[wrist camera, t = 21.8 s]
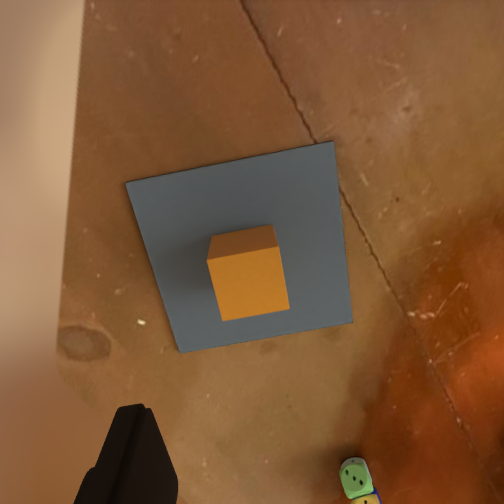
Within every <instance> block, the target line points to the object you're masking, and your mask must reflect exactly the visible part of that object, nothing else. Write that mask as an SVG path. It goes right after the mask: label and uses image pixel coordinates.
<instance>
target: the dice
mask: <svg viewBox="0 0 504 504" xmlns="http://www.w3.org/2000/svg"><path fill="white" fill-rule="evenodd" d="M340 468H341V469H340V471H339V475H340V479H341V482H342V485H343V488H344V491H345V493H346V495H347V497H348V498H350V499H353V500H352V501H351V504H382V503H381V500H380V497H379V495H378V492H377V490H376V488H375V487H373V485H372V479H371V476H370V473H369V470H368V468H367V465H366V463H365V461H364V459H362V458H358V457H353V458H349V459H347V460H346V461H344V462H343V464H342V465H341V467H340Z"/></svg>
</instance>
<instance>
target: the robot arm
mask: <svg viewBox="0 0 504 504" xmlns="http://www.w3.org/2000/svg"><path fill="white" fill-rule="evenodd" d="M177 495H178V479H177V475H176V473H175V470H174V467H173V465H172V462H171V459H170V457H169V454H168V451H167V449H166V446H165V444H164V441H163V438H162V436H161V433H160V430H159V428H158V425H157V423H156V420H155V417H154V415H153V412H152V410H151V409H150V408H146V409H145V407H144V405H143V404H134V405H128V406H122V407H119V408H118V410H117V411H116V414H115V416H114V419H113V421H112V424H111V427H110V429H109V432H108V434H107V437H106V439H105V442H104V445H103V447H102V450H101V453H100V455H99V458H98V460H97V463H96V465H95V467H93V468H91V469H90V470H89V471H88V472H87V473H86V475H85V477H84V479H83V481H82V484H81V486H80V489H79V491H78V494H77V496H76V499H75V501H74V504H176V501H177Z"/></svg>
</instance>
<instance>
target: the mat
mask: <svg viewBox="0 0 504 504" xmlns="http://www.w3.org/2000/svg"><path fill="white" fill-rule="evenodd" d="M125 185H126V188H127V192H128V195H129V198H130V201H131V204H132V207H133V210H134V213H135V216H136V219H137V223H138V226H139V229H140V232H141V235H142V238H143V241H144V244H145V247H146V250H147V253H148V257H149V260H150V263H151V266H152V269H153V272H154V275H155V278H156V281H157V284H158V288H159V291H160V294H161V297H162V300H163V303H164V306H165V309H166V312H167V315H168V318H169V322H170V325H171V328H172V331H173V334H174V337H175V340H176V343H177V346H178V349H179V353H180V354H181V353H186V352H192V351H197V350H203V349H208V348H214V347H220V346H225V345H231V344H236V343H242V342H248V341H253V340H259V339H264V338H270V337H275V336H281V335H287V334H292V333H298V332H303V331H309V330H315V329H320V328H326V327H331V326H337V325H342V324H348V323H353V319H352V310H351V300H350V291H349V281H348V271H347V262H346V252H345V243H344V233H343V224H342V214H341V204H340V195H339V185H338V176H337V166H336V157H335V147H334V141H328V142H323V143H318V144H313V145H308V146H303V147H298V148H293V149H288V150H283V151H278V152H273V153H268V154H263V155H259V156H254V157H249V158H244V159H239V160H234V161H229V162H224V163H219V164H214V165H209V166H204V167H199V168H194V169H189V170H184V171H179V172H174V173H169V174H164V175H159V176H154V177H149V178H144V179H139V180H134V181H129V182H126V183H125ZM271 224H273V227H274V231H275V234H276V238H277V242H278V245H279V250H280V256H281V262H282V267H283V273H284V279H285V284H286V290H287V296H288V301H289V307H290V309H288V310H282V311H277V312H271V313H266V314H260V315H255V316H249V317H244V318H238V319H233V320H227V321H222V318H221V314H220V310H219V306H218V303H217V299H216V295H215V291H214V287H213V283H212V279H211V276H210V272H209V268H208V264H207V256H208V251H209V247H210V242H211V238H212V236H214V235H219V234H224V233H230V232H235V231H240V230H245V229H250V228H256V227H261V226H266V225H271Z"/></svg>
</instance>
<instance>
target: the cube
mask: <svg viewBox="0 0 504 504" xmlns="http://www.w3.org/2000/svg"><path fill="white" fill-rule="evenodd" d="M207 264H208V268H209V272H210V276H211V279H212V283H213V287H214V291H215V295H216V299H217V303H218V306H219V310H220V314H221V318H222V321H227V320H233V319H238V318H244V317H249V316H255V315H260V314H266V313H271V312H277V311H282V310H288V309H290V307H289V301H288V296H287V290H286V284H285V279H284V273H283V267H282V262H281V256H280V250H279V245H278V242H277V238H276V234H275V231H274V227H273V224H271V225H266V226H261V227H256V228H250V229H245V230H240V231H235V232H230V233H224V234H219V235H214V236H212V238H211V242H210V247H209V251H208V256H207Z"/></svg>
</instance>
